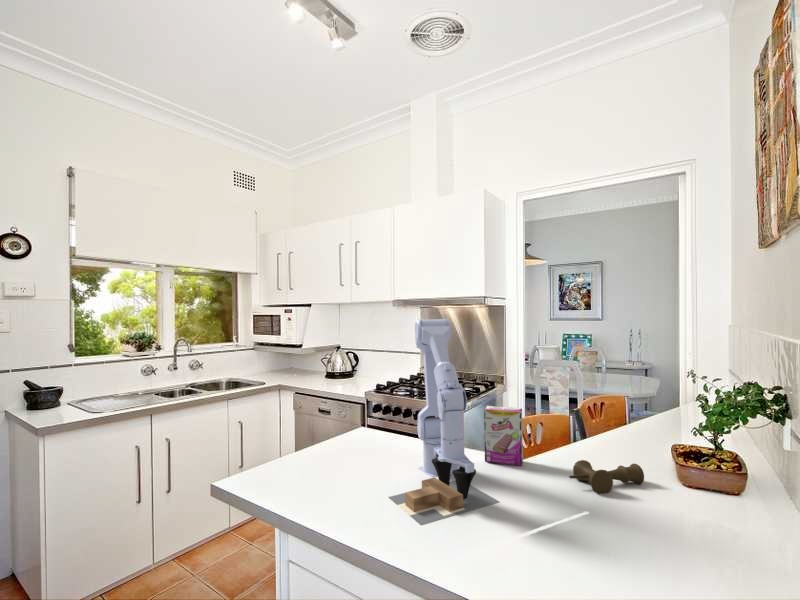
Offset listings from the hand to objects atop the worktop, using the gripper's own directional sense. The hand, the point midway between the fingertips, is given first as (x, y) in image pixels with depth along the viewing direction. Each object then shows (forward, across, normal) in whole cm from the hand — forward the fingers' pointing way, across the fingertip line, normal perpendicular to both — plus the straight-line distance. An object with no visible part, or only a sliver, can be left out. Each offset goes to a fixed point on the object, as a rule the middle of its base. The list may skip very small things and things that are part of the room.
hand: (453, 492), depth 104 cm
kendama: (+2, +13, +39) cm, 41 cm away
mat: (+1, 0, -3) cm, 3 cm away
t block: (+1, 0, -7) cm, 7 cm away
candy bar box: (+2, -13, +28) cm, 31 cm away
